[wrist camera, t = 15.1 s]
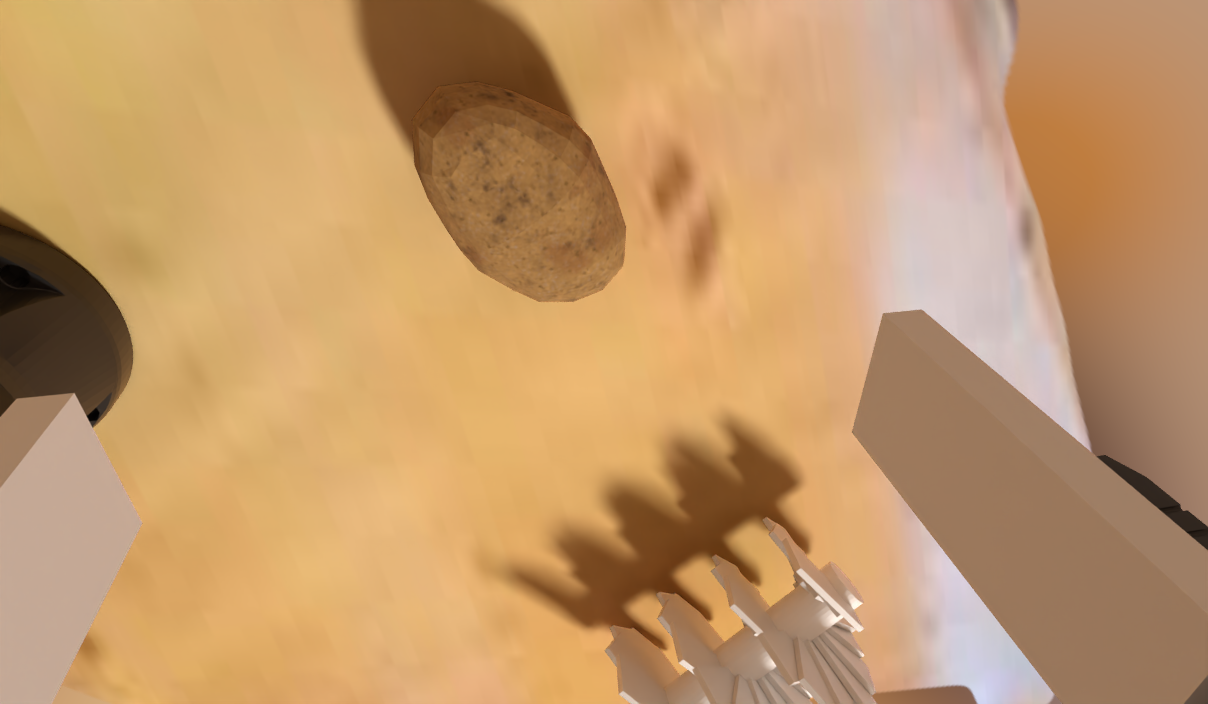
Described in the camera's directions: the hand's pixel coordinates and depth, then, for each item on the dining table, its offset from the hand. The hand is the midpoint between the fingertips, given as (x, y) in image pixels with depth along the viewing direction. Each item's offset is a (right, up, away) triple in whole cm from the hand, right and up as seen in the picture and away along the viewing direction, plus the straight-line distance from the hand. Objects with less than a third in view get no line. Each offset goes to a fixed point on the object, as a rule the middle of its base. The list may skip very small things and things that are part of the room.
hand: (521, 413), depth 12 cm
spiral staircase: (+12, -22, +56) cm, 61 cm away
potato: (-4, +12, +30) cm, 33 cm away
